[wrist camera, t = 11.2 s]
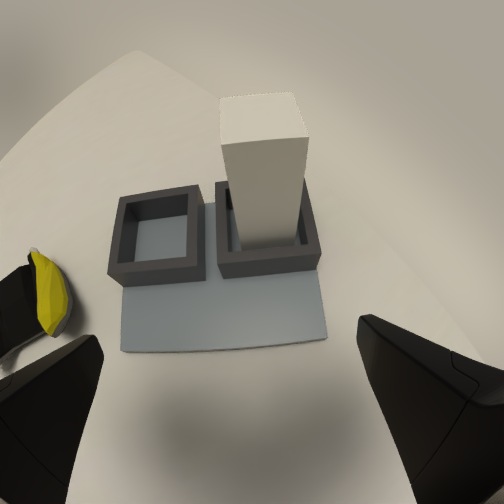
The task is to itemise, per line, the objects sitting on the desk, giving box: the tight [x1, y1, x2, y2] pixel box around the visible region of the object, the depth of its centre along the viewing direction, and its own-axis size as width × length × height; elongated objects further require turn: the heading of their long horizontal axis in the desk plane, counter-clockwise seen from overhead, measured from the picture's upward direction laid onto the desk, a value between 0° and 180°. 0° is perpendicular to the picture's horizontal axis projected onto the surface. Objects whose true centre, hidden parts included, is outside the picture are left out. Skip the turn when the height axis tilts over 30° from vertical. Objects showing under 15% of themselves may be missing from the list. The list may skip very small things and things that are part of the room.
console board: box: [107, 178, 328, 353], centre depth 22 cm, size 13×16×4 cm
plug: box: [220, 92, 309, 251], centre depth 18 cm, size 4×4×12 cm
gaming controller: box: [0, 247, 73, 365], centre depth 20 cm, size 15×6×10 cm
